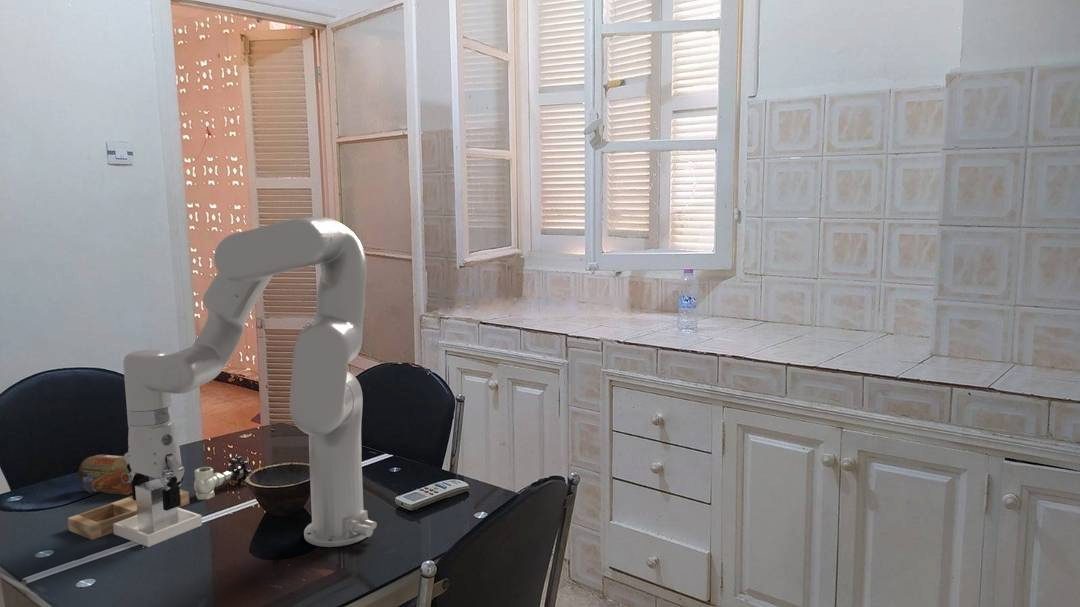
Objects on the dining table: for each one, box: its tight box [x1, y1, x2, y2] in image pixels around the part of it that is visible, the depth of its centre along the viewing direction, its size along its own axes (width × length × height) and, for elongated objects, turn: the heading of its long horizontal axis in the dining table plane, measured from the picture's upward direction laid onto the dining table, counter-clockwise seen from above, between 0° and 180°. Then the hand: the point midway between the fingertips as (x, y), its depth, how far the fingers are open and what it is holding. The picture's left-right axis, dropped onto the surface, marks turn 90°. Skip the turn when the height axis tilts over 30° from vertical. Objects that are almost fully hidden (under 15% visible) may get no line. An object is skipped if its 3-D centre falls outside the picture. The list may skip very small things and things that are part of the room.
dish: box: [113, 507, 203, 548], centre depth 145 cm, size 11×11×2 cm
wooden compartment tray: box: [67, 488, 190, 540], centre depth 151 cm, size 8×20×3 cm, turn 149°
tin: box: [78, 454, 132, 496], centre depth 165 cm, size 15×3×8 cm, turn 76°
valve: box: [193, 455, 252, 501], centre depth 165 cm, size 7×7×12 cm
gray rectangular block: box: [135, 478, 178, 534], centre depth 145 cm, size 5×5×9 cm
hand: (156, 502), depth 144 cm, fingers open, 9 cm apart
